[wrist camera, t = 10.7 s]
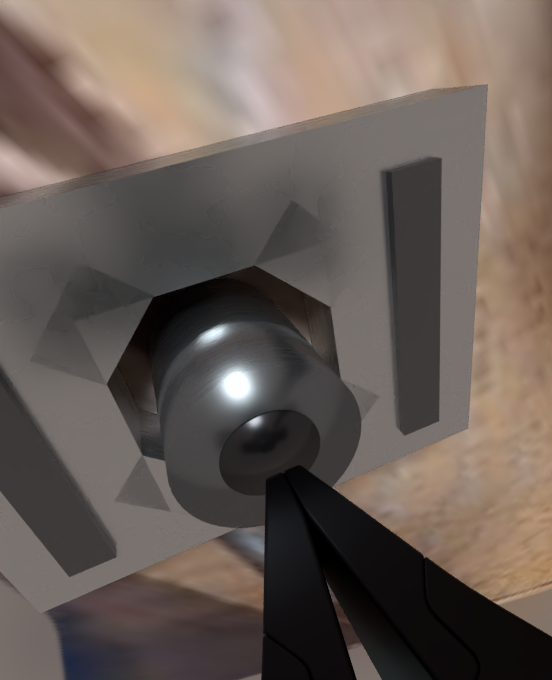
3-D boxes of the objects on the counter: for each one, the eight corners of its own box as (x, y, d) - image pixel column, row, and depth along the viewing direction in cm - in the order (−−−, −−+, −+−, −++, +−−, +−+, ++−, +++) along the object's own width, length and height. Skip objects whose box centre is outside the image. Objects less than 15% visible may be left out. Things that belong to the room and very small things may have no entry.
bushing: (269, 260, 15) (353, 336, 10) (293, 375, 17) (369, 483, 12) (126, 305, 14) (133, 416, 9) (174, 419, 16) (202, 556, 11)
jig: (430, 89, 14) (496, 83, 11) (431, 396, 20) (473, 432, 18) (-197, 247, 10) (-288, 283, 8) (48, 552, 17) (38, 622, 15)
